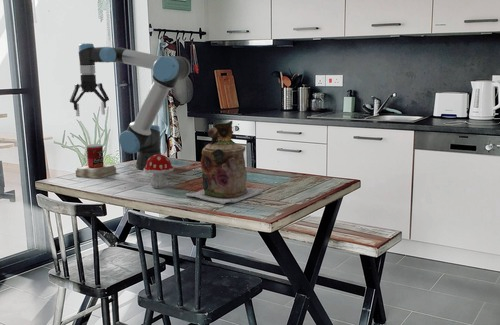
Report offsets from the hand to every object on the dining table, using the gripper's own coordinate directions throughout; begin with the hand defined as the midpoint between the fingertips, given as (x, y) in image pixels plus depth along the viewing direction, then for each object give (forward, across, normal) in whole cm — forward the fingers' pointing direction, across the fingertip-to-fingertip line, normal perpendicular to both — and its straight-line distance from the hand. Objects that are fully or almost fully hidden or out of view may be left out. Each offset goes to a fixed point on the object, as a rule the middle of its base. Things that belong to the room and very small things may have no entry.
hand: (90, 115), depth 279 cm
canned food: (+25, +4, +14) cm, 29 cm away
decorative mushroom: (+29, -8, +59) cm, 66 cm away
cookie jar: (+29, -22, +91) cm, 98 cm away
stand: (+29, +4, +14) cm, 32 cm away
